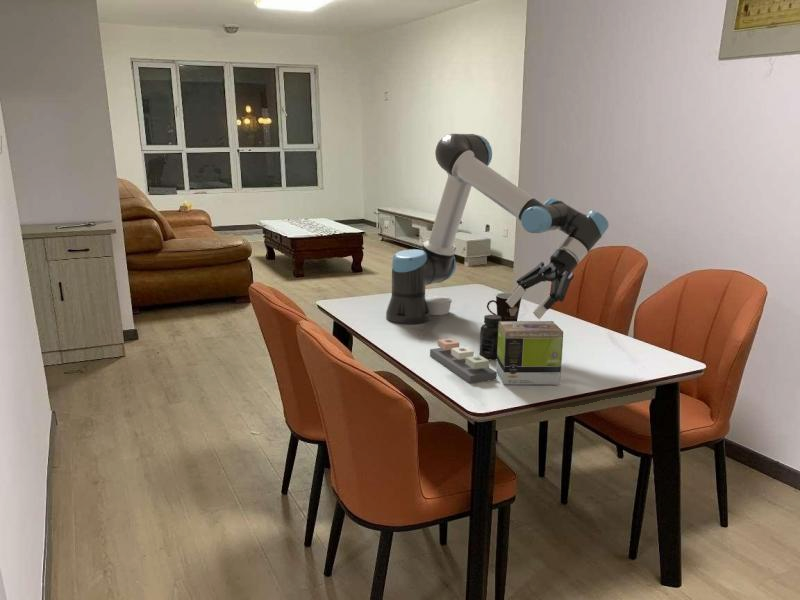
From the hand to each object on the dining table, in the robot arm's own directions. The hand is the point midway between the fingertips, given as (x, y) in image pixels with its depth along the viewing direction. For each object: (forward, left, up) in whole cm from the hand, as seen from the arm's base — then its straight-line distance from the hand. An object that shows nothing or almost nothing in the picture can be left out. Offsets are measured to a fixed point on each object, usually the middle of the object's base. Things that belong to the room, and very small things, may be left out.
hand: (522, 310), depth 184 cm
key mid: (+4, -22, -10) cm, 24 cm away
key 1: (-4, -22, -10) cm, 24 cm away
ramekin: (-50, -2, -14) cm, 51 cm away
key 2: (+12, -22, -10) cm, 27 cm away
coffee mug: (-29, +13, -13) cm, 34 cm away
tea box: (+18, -10, -13) cm, 25 cm away
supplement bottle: (-1, -9, -13) cm, 16 cm away
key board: (+4, -22, -13) cm, 26 cm away
